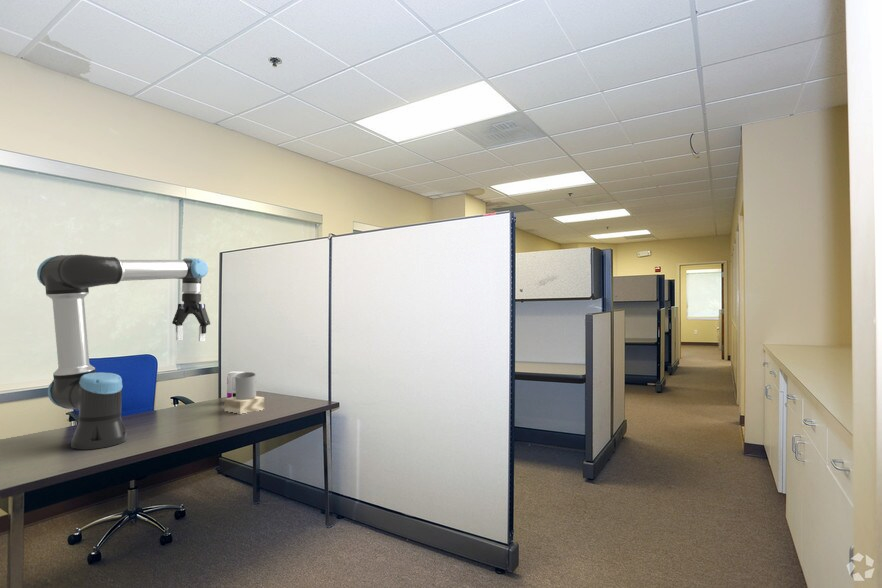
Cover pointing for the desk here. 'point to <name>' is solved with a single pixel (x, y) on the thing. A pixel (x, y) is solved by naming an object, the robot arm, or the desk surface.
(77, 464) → the desk surface
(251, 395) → the cup
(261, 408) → the birch block
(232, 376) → the supplement can
